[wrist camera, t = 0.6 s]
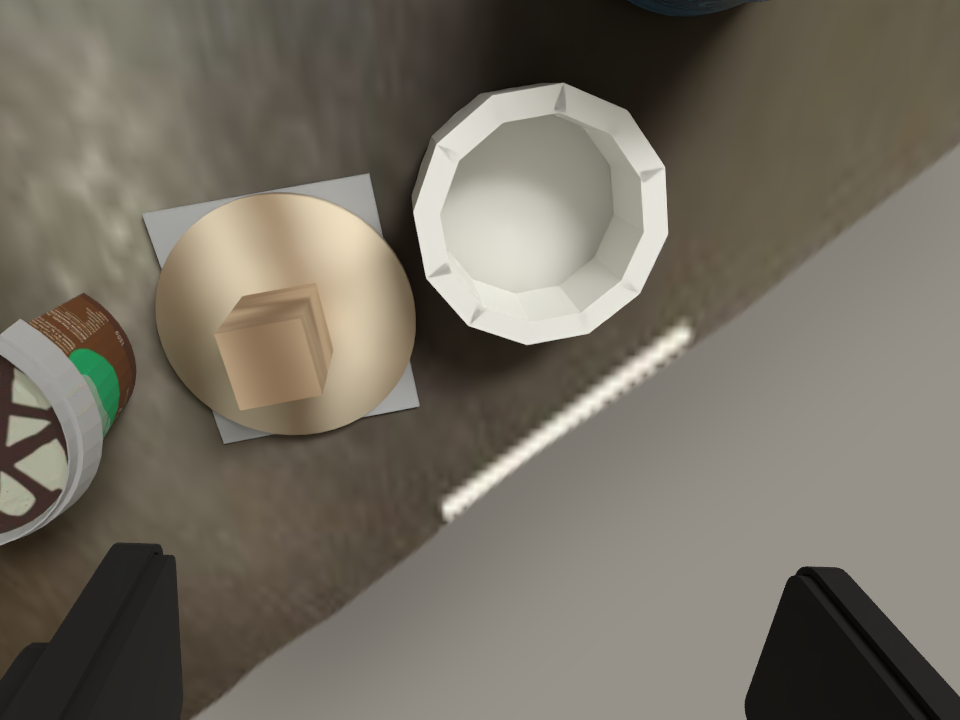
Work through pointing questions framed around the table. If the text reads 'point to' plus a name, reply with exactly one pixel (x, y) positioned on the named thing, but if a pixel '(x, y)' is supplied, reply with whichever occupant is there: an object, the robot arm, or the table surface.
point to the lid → (286, 313)
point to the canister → (687, 6)
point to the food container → (57, 409)
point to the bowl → (539, 211)
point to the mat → (341, 191)
